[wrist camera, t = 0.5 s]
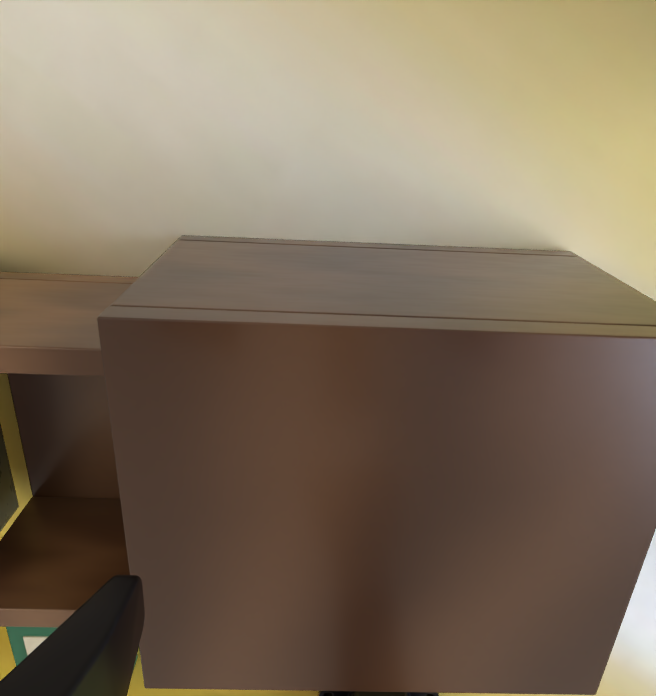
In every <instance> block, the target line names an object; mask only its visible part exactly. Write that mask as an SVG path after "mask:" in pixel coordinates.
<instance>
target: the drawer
mask: <svg viewBox="0 0 656 696" xmlns="http://www.w3.org/2000/svg"><path fill="white" fill-rule="evenodd" d="M138 278H139V277H121V276H95V275H70V274H44V273H19V272H0V373H7V374H8V379H9V384H10V389H11V393H12V398H13V403H14V408H15V413H16V417H17V422H18V427H19V432H20V437H21V442H22V446H23V451H24V456H25V461H26V466H27V470H28V475H29V480H30V485H31V490H32V495H33V497H32V498H31V499H30V501H29V502H28V503H27V505H26V506H25V508H24V509H23V510H22V512H21V513H20V514H19V516H18V517H17V519H16V520H15V521H14V523H13V524H12V525H11V527H10V528H9V530H8V531H7V532H6V534H5V535H4V537H3V538H2V539H1V541H0V626H6V627H59V626H60V625H61V624H62V623H63V622H64V621H65V620H67V619H68V618H69V617H70V616H71V615H72V614H73V613H74V612H75V611H76V610H77V609H78V608H79V607H80V606H82V605H83V604H84V603H85V602H86V601H87V600H88V599H89V598H90V597H91V596H92V595H93V594H94V593H95V592H97V591H98V590H99V589H100V588H101V587H102V586H103V585H104V584H105V583H106V582H107V581H108V580H109V579H111V578H112V577H113V576H115V575H130V570H129V563H128V555H127V547H126V540H125V532H124V524H123V516H122V509H121V501H120V493H119V486H118V478H117V470H116V462H115V455H114V447H113V439H112V432H111V424H110V416H109V408H108V401H107V393H106V385H105V378H104V370H103V362H102V354H101V347H100V339H99V331H98V324H97V317H98V316H99V315H100V314H101V313H102V312H103V311H104V310H105V309H106V308H107V307H108V306H110V305H111V304H112V303H113V302H114V301H115V300H116V299H117V298H118V297H119V296H120V295H121V294H122V293H123V292H124V291H125V290H126V289H127V288H128V287H129V286H131V285H132V284H133V283H134V282H135V281H136V280H137V279H138ZM18 507H19V505H18V501H17V496H16V492H15V487H14V483H13V478H12V474H11V469H10V465H9V460H8V456H7V451H6V447H5V442H4V438H3V433H2V429H1V424H0V531H1V530H2V529H3V527H4V526H5V525H6V523H7V522H8V521H9V519H10V518H11V517H12V515H13V514H14V512H15V511H16V510H17V508H18Z"/></svg>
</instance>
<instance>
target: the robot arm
mask: <svg viewBox="0 0 656 696" xmlns="http://www.w3.org/2000/svg"><path fill="white" fill-rule="evenodd" d="M144 619H145V609H144V597H143V586H142V580H141V578H140V577H139V576H137V575H115V576H113V577H112V578H111V579H109V580H108V581H107V582H106V583H105V584H104V585H103V586H102V587H101V588H100V589H99V590H98V591H97V592H95V593H94V594H93V595H92V596H91V597H90V598H89V599H88V600H87V601H86V602H85V603H84V604H83V605H82V606H80V607H79V608H78V609H77V610H76V611H75V612H74V613H73V614H72V615H71V616H70V617H69V618H68V619H67V620H65V621H64V622H63V623H62V624H61V625H60V626H59V627H58V628H57V629H56V630H55V631H54V632H53V633H52V634H50V635H49V636H48V637H47V638H46V639H45V640H44V641H43V642H42V643H41V644H40V645H39V646H38V647H36V648H35V649H34V650H33V651H32V652H31V653H30V654H29V655H28V656H27V657H26V658H25V659H24V660H23V661H21V662H20V663H19V664H18V665H17V666H16V667H15V668H14V669H13V670H12V671H11V672H10V673H9V674H8V675H6V676H5V677H4V678H3V679H2V680H1V681H0V696H127V693H128V689H129V685H130V681H131V677H132V672H133V668H134V664H135V660H136V656H137V652H138V647H139V643H140V639H141V635H142V631H143V626H144ZM319 696H439V695H438V692H369V691H319Z"/></svg>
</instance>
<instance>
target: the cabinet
mask: <svg viewBox="0 0 656 696" xmlns="http://www.w3.org/2000/svg"><path fill="white" fill-rule="evenodd" d="M97 324H98V331H99V339H100V347H101V354H102V362H103V370H104V378H105V385H106V393H107V401H108V408H109V416H110V424H111V432H112V439H113V447H114V455H115V462H116V470H117V478H118V486H119V493H120V501H121V509H122V516H123V524H124V532H125V540H126V547H127V555H128V563H129V570H130V575H137V576H139V577H140V578H141V580H142V586H143V597H144V609H145V619H144V626H143V631H142V635H141V639H140V643H139V648H140V655H141V663H142V671H143V679H144V686H145V688H159V689H229V690H299V691H369V692H439V693H509V694H579V695H595V694H596V692H597V690H598V687H599V684H600V681H601V679H602V676H603V673H604V670H605V667H606V665H607V662H608V659H609V656H610V654H611V651H612V648H613V645H614V643H615V640H616V637H617V634H618V631H619V629H620V626H621V623H622V620H623V618H624V615H625V612H626V609H627V607H628V604H629V601H630V598H631V595H632V593H633V590H634V587H635V584H636V582H637V579H638V576H639V573H640V571H641V568H642V565H643V562H644V560H645V557H646V554H647V551H648V548H649V546H650V543H651V540H652V537H653V535H654V532H655V529H656V301H654V300H653V299H651V298H649V297H647V296H646V295H644V294H642V293H641V292H639V291H637V290H635V289H634V288H632V287H630V286H629V285H627V284H625V283H624V282H622V281H620V280H618V279H617V278H615V277H613V276H612V275H610V274H608V273H606V272H605V271H603V270H601V269H600V268H598V267H596V266H595V265H593V264H591V263H589V262H588V261H586V260H584V259H583V258H581V257H579V256H577V255H576V254H574V253H572V252H569V251H546V250H522V249H498V248H474V247H450V246H426V245H402V244H378V243H355V242H331V241H307V240H283V239H259V238H235V237H211V236H187V235H183V236H181V237H180V238H179V239H178V240H177V241H176V242H175V243H174V244H173V245H172V246H171V247H170V248H169V249H167V250H166V251H165V252H164V253H163V254H162V255H161V256H160V257H159V258H158V259H157V260H156V261H155V262H154V263H153V264H152V265H151V266H150V267H149V268H148V269H147V270H146V271H145V272H144V273H143V274H142V275H141V276H140V277H139V278H138V279H137V280H136V281H135V282H134V283H133V284H132V285H131V286H129V287H128V288H127V289H126V290H125V291H124V292H123V293H122V294H121V295H120V296H119V297H118V298H117V299H116V300H115V301H114V302H113V303H112V304H111V305H110V306H108V307H107V308H106V309H105V310H104V311H103V312H102V313H101V314H100V315H99V316H98V317H97Z"/></svg>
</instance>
